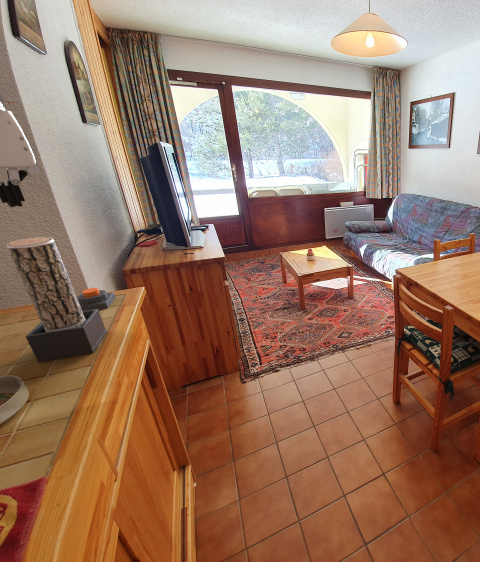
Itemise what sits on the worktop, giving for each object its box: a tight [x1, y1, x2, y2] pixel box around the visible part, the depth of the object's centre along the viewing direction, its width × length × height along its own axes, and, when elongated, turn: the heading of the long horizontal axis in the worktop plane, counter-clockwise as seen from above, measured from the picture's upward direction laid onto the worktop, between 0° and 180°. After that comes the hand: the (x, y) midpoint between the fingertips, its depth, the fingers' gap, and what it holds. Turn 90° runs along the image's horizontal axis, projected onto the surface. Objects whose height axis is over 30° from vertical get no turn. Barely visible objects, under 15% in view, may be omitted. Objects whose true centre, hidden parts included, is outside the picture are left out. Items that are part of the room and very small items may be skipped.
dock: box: [25, 309, 107, 364], centre depth 72 cm, size 10×10×7 cm
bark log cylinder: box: [5, 236, 86, 332], centre depth 68 cm, size 7×7×25 cm
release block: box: [76, 289, 117, 311], centre depth 92 cm, size 8×8×4 cm
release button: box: [81, 287, 100, 298], centre depth 91 cm, size 4×4×2 cm
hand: (15, 205), depth 61 cm, fingers closed
